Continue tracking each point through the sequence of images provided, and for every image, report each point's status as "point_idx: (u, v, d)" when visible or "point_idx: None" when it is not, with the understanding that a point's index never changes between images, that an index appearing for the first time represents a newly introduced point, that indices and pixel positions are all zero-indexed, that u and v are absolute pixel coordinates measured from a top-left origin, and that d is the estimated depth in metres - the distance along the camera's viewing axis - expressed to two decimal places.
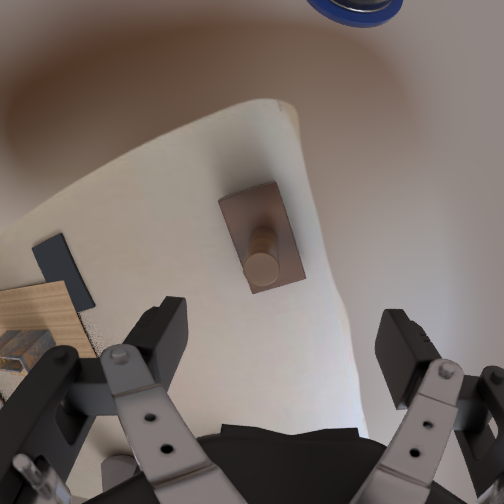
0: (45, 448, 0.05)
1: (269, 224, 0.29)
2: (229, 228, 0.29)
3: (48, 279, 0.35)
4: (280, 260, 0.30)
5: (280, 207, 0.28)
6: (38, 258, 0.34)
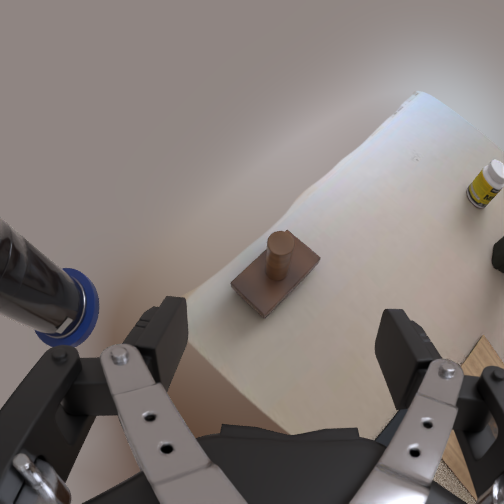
0: (45, 448, 0.05)
1: (262, 272, 0.37)
2: (280, 297, 0.35)
3: None
4: None
5: (246, 271, 0.37)
6: None
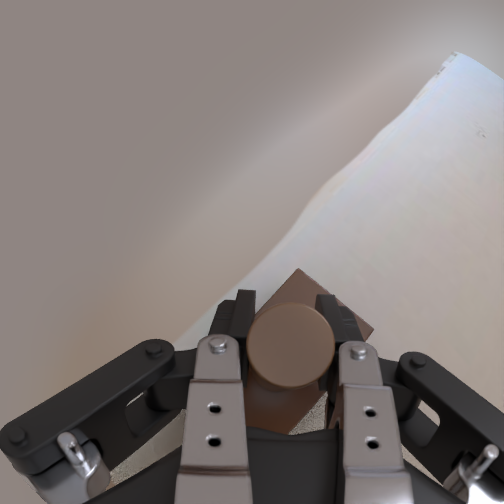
0: (102, 434, 0.06)
1: None
2: (288, 429, 0.14)
3: None
4: None
5: None
6: None
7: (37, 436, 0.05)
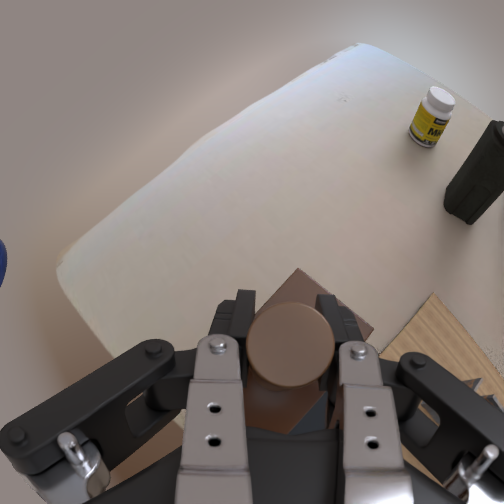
0: (102, 434, 0.06)
1: None
2: (288, 429, 0.14)
3: None
4: None
5: None
6: None
7: (37, 436, 0.05)
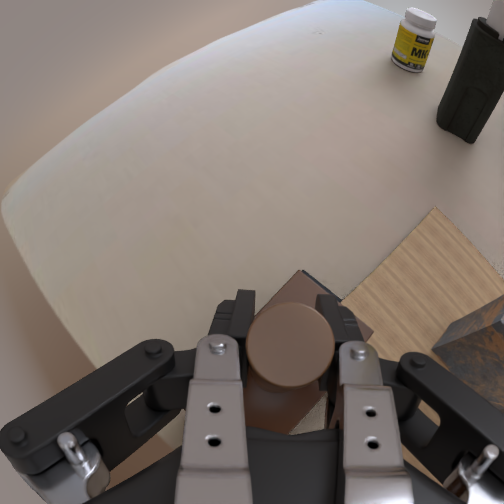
0: (102, 434, 0.06)
1: None
2: (287, 430, 0.14)
3: None
4: None
5: None
6: None
7: (37, 436, 0.05)
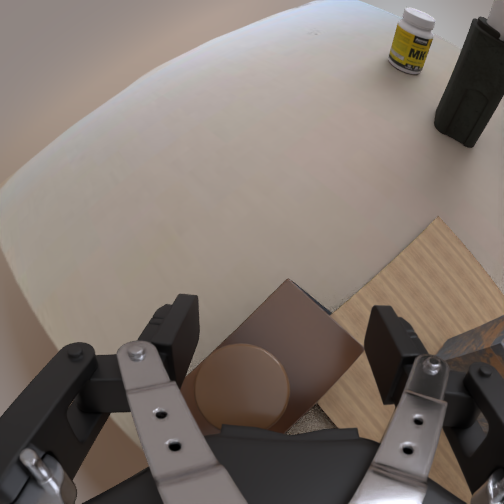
0: (54, 444, 0.06)
1: None
2: None
3: None
4: (278, 337, 0.15)
5: (188, 382, 0.15)
6: None
7: (0, 461, 0.04)
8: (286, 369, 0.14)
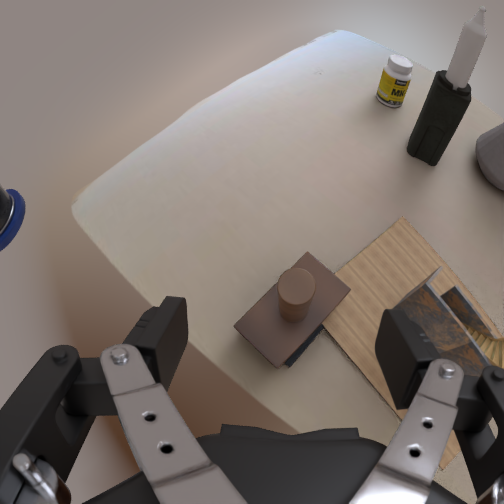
0: (45, 448, 0.05)
1: (275, 311, 0.28)
2: (298, 345, 0.26)
3: None
4: None
5: (254, 309, 0.28)
6: (296, 351, 0.29)
7: None
8: None
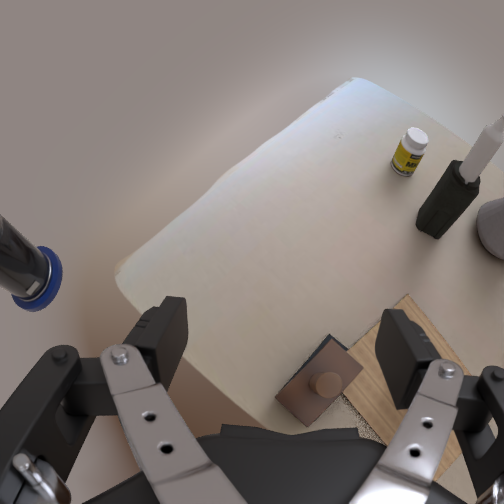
0: (45, 448, 0.05)
1: (306, 385, 0.34)
2: (323, 410, 0.33)
3: None
4: (328, 364, 0.35)
5: (290, 385, 0.34)
6: None
7: None
8: None
